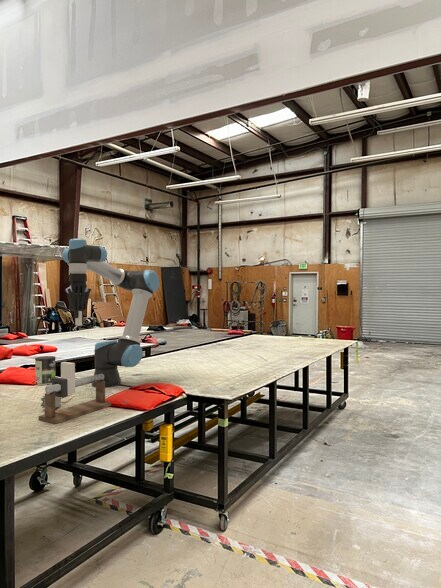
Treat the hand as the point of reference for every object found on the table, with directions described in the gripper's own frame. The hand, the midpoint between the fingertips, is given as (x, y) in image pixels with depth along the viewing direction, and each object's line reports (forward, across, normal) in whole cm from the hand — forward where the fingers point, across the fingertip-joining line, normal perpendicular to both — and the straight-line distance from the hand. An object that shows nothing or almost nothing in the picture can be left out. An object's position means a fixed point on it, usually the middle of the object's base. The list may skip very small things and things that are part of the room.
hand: (78, 325), depth 181 cm
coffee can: (+35, -16, -47) cm, 61 cm away
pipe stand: (+34, +12, +13) cm, 39 cm away
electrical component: (+35, +6, -6) cm, 36 cm away
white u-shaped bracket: (+25, +17, +13) cm, 33 cm away
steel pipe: (+24, +12, +13) cm, 30 cm away
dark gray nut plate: (+26, +20, +13) cm, 35 cm away
